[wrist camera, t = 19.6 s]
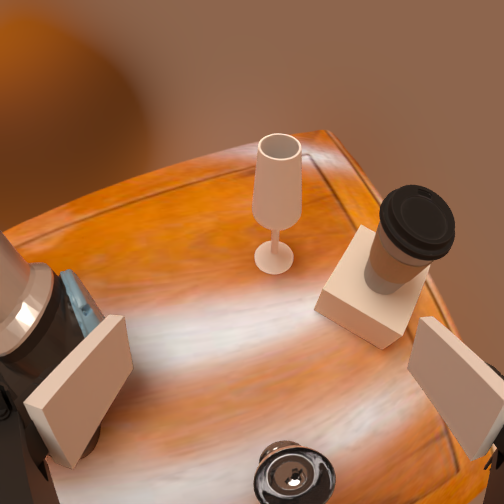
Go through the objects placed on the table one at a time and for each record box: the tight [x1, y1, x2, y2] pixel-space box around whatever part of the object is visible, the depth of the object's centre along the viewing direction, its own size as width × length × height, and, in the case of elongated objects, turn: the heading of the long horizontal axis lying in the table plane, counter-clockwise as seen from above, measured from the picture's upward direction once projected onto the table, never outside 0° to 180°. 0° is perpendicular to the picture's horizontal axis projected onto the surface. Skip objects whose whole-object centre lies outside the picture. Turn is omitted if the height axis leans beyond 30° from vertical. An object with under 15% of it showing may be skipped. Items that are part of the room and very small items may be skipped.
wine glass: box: [253, 441, 336, 504], centre depth 29 cm, size 8×8×15 cm
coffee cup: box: [364, 185, 455, 295], centre depth 35 cm, size 9×9×15 cm
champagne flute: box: [252, 134, 302, 274], centre depth 43 cm, size 7×7×24 cm
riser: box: [314, 225, 430, 350], centre depth 45 cm, size 13×13×8 cm
